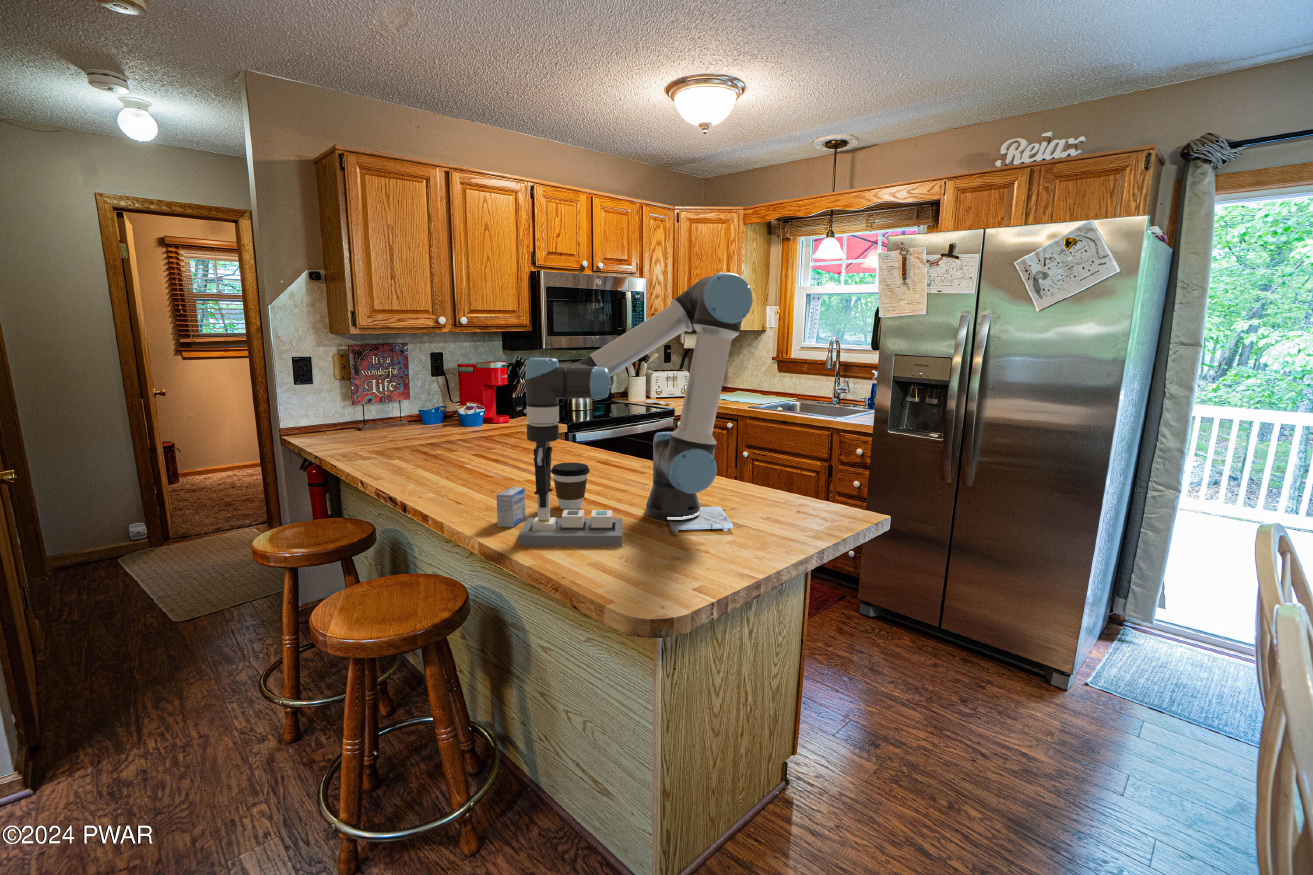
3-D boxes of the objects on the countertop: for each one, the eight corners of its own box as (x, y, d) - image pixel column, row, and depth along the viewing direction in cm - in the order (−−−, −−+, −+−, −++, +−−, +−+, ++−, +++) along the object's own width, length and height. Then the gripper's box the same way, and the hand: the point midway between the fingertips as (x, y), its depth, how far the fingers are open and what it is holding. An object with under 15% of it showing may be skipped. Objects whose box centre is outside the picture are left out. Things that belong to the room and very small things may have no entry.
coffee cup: (597, 505, 171) (597, 465, 169) (572, 515, 162) (572, 472, 160) (568, 499, 177) (568, 460, 175) (543, 508, 168) (542, 467, 166)
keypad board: (622, 527, 153) (622, 518, 152) (621, 546, 140) (621, 535, 139) (528, 527, 152) (528, 517, 151) (519, 545, 139) (518, 535, 138)
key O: (612, 520, 148) (612, 509, 147) (611, 527, 143) (611, 515, 143) (592, 520, 148) (592, 509, 147) (590, 527, 143) (590, 515, 142)
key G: (556, 528, 148) (555, 516, 147) (553, 535, 143) (553, 523, 142) (535, 528, 147) (535, 516, 147) (532, 534, 143) (532, 523, 142)
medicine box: (513, 528, 151) (512, 495, 149) (497, 526, 152) (496, 494, 150) (526, 518, 159) (525, 487, 157) (510, 517, 159) (509, 486, 158)
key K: (584, 520, 148) (584, 509, 147) (582, 527, 143) (582, 515, 142) (564, 520, 147) (563, 509, 147) (561, 527, 143) (561, 515, 142)
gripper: (531, 419, 147) (532, 510, 151) (521, 427, 134) (523, 527, 138) (561, 419, 147) (562, 511, 151) (555, 428, 134) (556, 527, 138)
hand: (543, 518), depth 145 cm, fingers closed
